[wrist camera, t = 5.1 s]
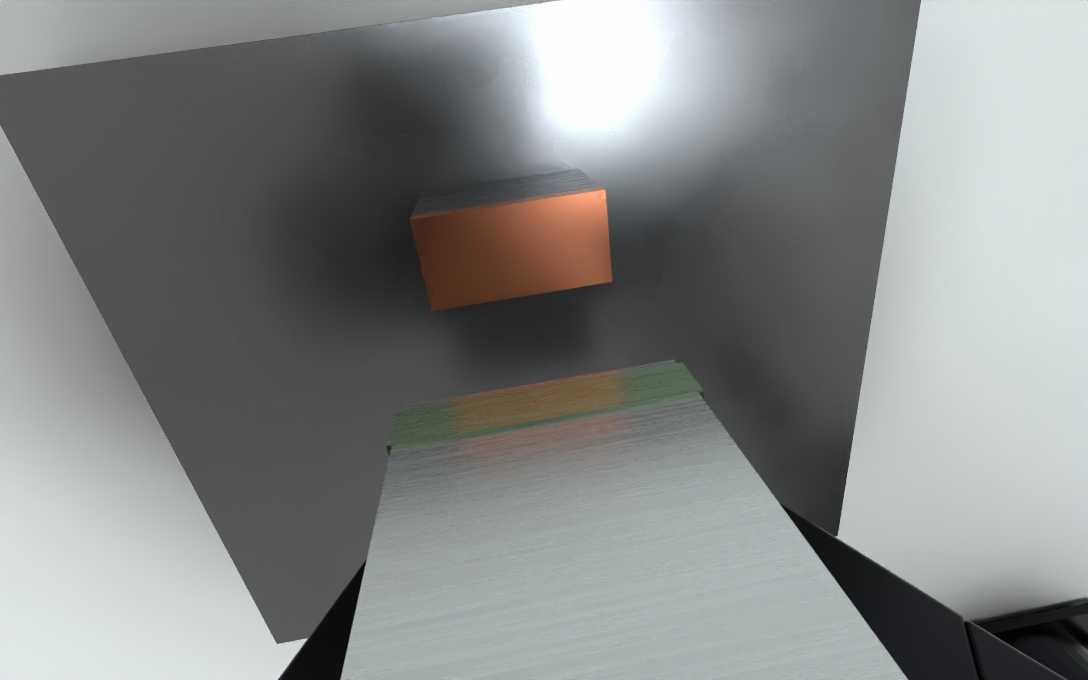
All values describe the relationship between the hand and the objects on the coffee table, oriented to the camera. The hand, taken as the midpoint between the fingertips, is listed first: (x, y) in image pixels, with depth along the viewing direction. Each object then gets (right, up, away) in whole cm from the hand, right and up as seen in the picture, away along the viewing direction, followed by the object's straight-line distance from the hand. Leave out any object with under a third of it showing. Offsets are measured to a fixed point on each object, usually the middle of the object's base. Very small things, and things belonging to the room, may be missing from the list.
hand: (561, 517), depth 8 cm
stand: (-1, +3, +6) cm, 6 cm away
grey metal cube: (0, 0, +1) cm, 1 cm away
